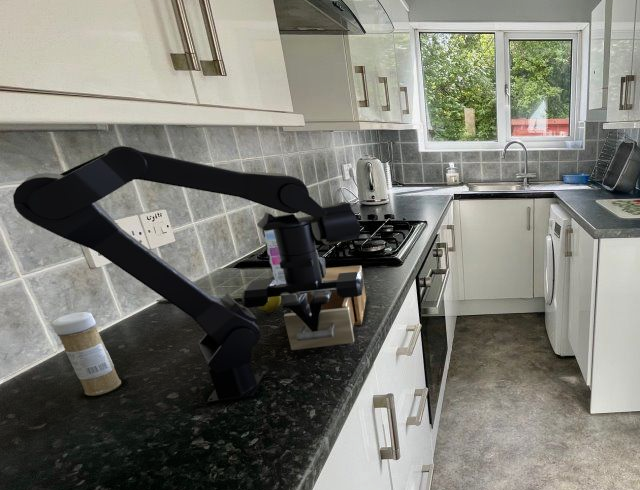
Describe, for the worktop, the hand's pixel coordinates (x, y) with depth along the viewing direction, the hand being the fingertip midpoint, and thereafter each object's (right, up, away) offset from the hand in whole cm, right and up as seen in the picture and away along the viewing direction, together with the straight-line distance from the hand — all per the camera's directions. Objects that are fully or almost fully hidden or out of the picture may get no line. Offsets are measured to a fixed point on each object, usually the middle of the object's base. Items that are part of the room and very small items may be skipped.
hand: (315, 330), depth 75 cm
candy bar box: (-28, +10, +41) cm, 51 cm away
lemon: (-21, +2, +21) cm, 30 cm away
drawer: (-2, -2, +8) cm, 9 cm away
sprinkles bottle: (-33, -9, -7) cm, 35 cm away
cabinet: (-5, +2, +20) cm, 21 cm away
